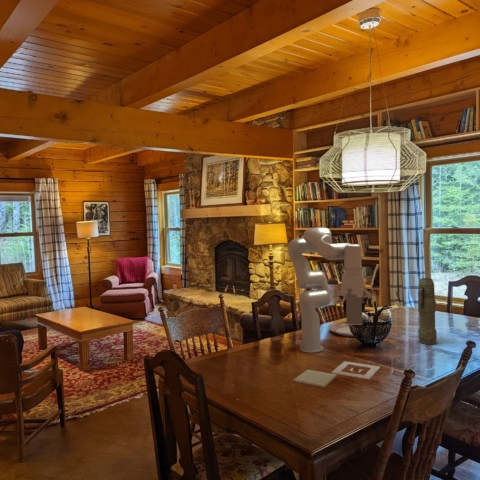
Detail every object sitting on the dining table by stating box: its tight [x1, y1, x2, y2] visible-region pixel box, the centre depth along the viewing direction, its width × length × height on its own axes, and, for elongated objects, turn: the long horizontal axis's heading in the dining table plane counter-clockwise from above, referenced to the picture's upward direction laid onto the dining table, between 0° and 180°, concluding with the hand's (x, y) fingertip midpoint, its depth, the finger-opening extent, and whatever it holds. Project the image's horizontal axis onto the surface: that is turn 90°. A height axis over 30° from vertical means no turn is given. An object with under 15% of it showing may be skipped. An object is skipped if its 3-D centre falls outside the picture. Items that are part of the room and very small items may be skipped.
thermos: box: [417, 277, 438, 346], centre depth 234 cm, size 9×12×35 cm
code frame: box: [331, 361, 381, 380], centre depth 198 cm, size 17×17×1 cm
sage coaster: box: [293, 369, 338, 388], centre depth 190 cm, size 14×14×1 cm
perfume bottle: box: [345, 289, 363, 325], centre depth 197 cm, size 7×7×18 cm
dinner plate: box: [328, 322, 354, 337], centre depth 262 cm, size 27×27×3 cm
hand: (354, 310), depth 197 cm, fingers closed on perfume bottle, 6 cm apart
